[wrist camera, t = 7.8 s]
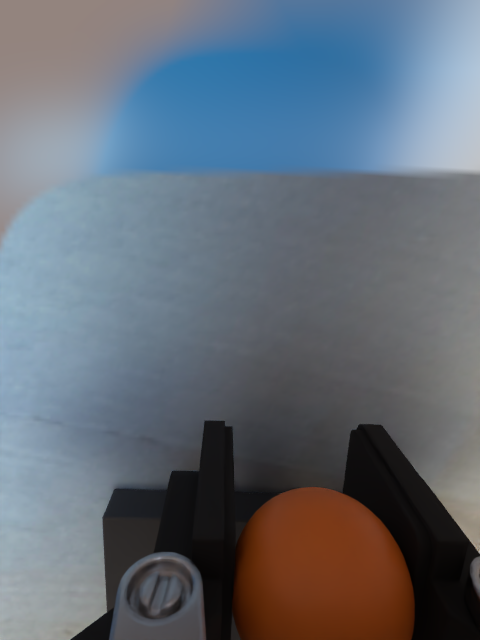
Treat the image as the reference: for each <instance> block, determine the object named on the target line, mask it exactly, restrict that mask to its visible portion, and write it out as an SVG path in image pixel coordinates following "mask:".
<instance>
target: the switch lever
mask: <svg viewBox="0 0 480 640" xmlns="http://www.w3.org/2000/svg"><path fill="white" fill-rule="evenodd" d="M232 613H233V617H234V621H235V625H236V628H237V631H238V633H239V636H240V638H241V640H411V639H412V635H413V630H414V620H415V600H414V591H413V585H412V581H411V577H410V573H409V570H408V567H407V564H406V561H405V558H404V556H403V554H402V552H401V550H400V548H399V546H398V544H397V542H396V541H395V539H394V538H393V536H392V535H391V533H390V532H389V530H388V529H387V527H386V526H385V525H384V524H383V523H382V521H381V520H380V519H379V518H378V517H377V516H376V515H375V514H374V513H373V512H371V511H370V510H369V509H368V508H367V507H365V506H364V505H363V504H361V503H360V502H359V501H357V500H355V499H353V498H351V497H350V496H348V495H345V494H343V493H340V492H338V491H335V490H331V489H327V488H319V487H303V488H298V489H292V490H289V491H286V492H283V493H281V494H279V495H277V496H275V497H273V498H272V499H270V500H269V501H267V502H266V503H265V504H264V505H262V506H261V507H260V508H259V509H258V510H257V511H256V512H255V513H254V515H253V516H252V517H251V518H250V519H249V521H248V523H247V524H246V526H245V527H244V529H243V531H242V533H241V535H240V537H239V539H238V541H237V544H236V550H235V570H234V589H233V597H232Z"/></svg>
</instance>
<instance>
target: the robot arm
mask: <svg viewBox="0 0 480 640" xmlns="http://www.w3.org/2000/svg"><path fill="white" fill-rule="evenodd" d="M343 494H345V495H348V496H350V497H351V498H353V499H355V500H357V501H359V502H360V503H361V504H363V505H364V506H365V507H367V508H368V509H369V510H370V511H371V512H373V513H374V514H375V515H376V516H377V517H378V518H379V519H380V520H381V521H382V523H383V524H384V525H385V526H386V527H387V529H388V530H389V532H390V533H391V535H392V536H393V538H394V539H395V541H396V542H397V544H398V546H399V548H400V550H401V552H402V554H403V556H404V558H405V561H406V564H407V567H408V570H409V573H410V577H411V581H412V585H413V591H414V600H415V620H414V630H413V635H412V639H411V640H480V554H479V553H478V551H477V550H476V549H475V547H474V546H473V545H472V543H471V542H470V541H469V539H468V538H467V537H466V535H465V534H464V533H463V531H462V530H461V529H460V527H459V526H458V525H457V523H456V522H455V521H454V519H453V518H452V517H451V515H450V514H449V513H448V511H447V510H446V509H445V507H444V506H443V505H442V503H441V502H440V501H439V499H438V498H437V497H436V495H435V494H434V493H433V492H432V490H431V489H430V488H429V486H428V485H427V484H426V482H425V481H424V480H423V479H422V478H421V477H420V476H419V474H418V473H417V472H416V470H415V469H414V468H413V466H412V465H411V464H410V462H409V461H408V460H407V458H406V457H405V456H404V454H403V453H402V452H401V450H400V449H399V448H398V446H397V445H396V444H395V442H394V441H393V440H392V438H391V437H390V436H389V434H388V433H387V432H386V430H385V429H384V428H383V426H381V425H374V424H359V425H358V427H357V429H353V430H351V433H350V440H349V447H348V455H347V462H346V470H345V478H344V485H343ZM235 550H236V520H235V489H234V458H233V428H232V427H230V426H225V421H207V420H205V422H204V431H203V441H202V450H201V460H200V469H199V471H172V472H171V475H170V479H169V484H168V489H167V493H166V498H165V503H164V507H163V512H162V517H161V521H160V526H159V531H158V535H157V540H156V544H155V549H154V554H150V555H148V556H146V557H144V558H142V559H140V560H138V561H137V562H136V563H134V564H133V565H132V566H131V567H130V568H128V570H127V571H126V573H125V574H124V576H123V577H122V578H121V581H120V584H119V587H118V590H117V595H116V601H115V607H114V608H112V609H111V610H110V611H108V612H107V613H106V614H104V615H103V616H102V617H100V618H99V619H97V620H96V621H95V622H93V623H92V624H91V625H89V626H88V627H87V628H85V629H84V630H83V631H81V632H80V633H79V634H77V635H76V636H75V637H73V638H72V639H71V640H231V626H232V597H233V589H234V570H235Z"/></svg>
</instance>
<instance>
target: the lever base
mask: <svg viewBox="0 0 480 640" xmlns="http://www.w3.org/2000/svg"><path fill="white" fill-rule="evenodd" d="M166 493H167V490H136V489H115V490H114V491H113V494H112V496H111V499H110V501H109V503H108V506H107V508H106V511H105V513H104V516H103V538H104V559H105V579H106V599H107V612H108V611H110V610H111V609H112V608H114V607H115V601H116V595H117V590H118V587H119V584H120V581H121V578H122V577H123V576H124V574H125V573H126V571H127V570H128V568H130V567H131V566H132V565H133V564H134V563H136V562H137V561H138V560H140V559H142V558H144V557H146V556H148V555H150V554H154V549H155V544H156V540H157V535H158V531H159V526H160V521H161V517H162V512H163V507H164V503H165V498H166ZM279 494H281V493H247V492H235V520H236V544H237V541H238V539H239V537H240V535H241V533H242V531H243V529H244V527H245V526H246V524H247V523H248V521H249V519H250V518H251V517H252V516H253V515H254V513H255V512H256V511H257V510H258V509H259V508H260V507H261V506H262V505H264V504H265V503H266V502H267V501H269V500H270V499H272V498H273V497H275V496H277V495H279ZM231 640H241V638H240V636H239V633H238V631H237V628H236V625H235V621H234V617H233V613H232V626H231Z"/></svg>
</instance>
